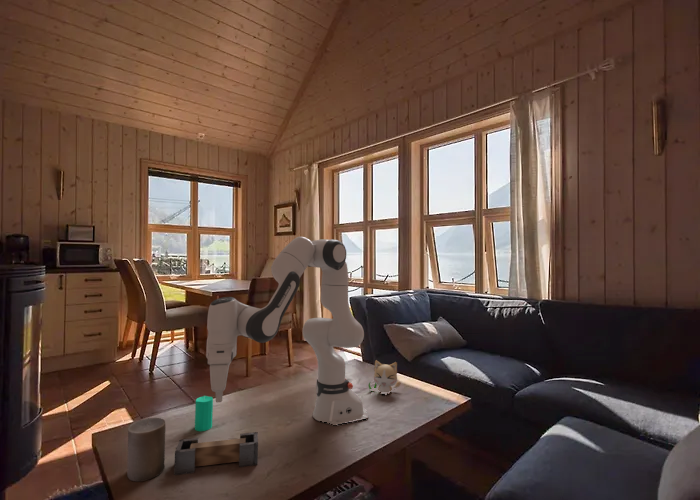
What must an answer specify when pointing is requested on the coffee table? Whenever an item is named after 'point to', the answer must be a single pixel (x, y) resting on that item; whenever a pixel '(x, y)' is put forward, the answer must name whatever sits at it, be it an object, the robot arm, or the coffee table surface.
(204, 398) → the candle
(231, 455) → the slat
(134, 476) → the pillar candle
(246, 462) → the endcap
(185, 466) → the endcap
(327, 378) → the robot arm
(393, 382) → the kitten
